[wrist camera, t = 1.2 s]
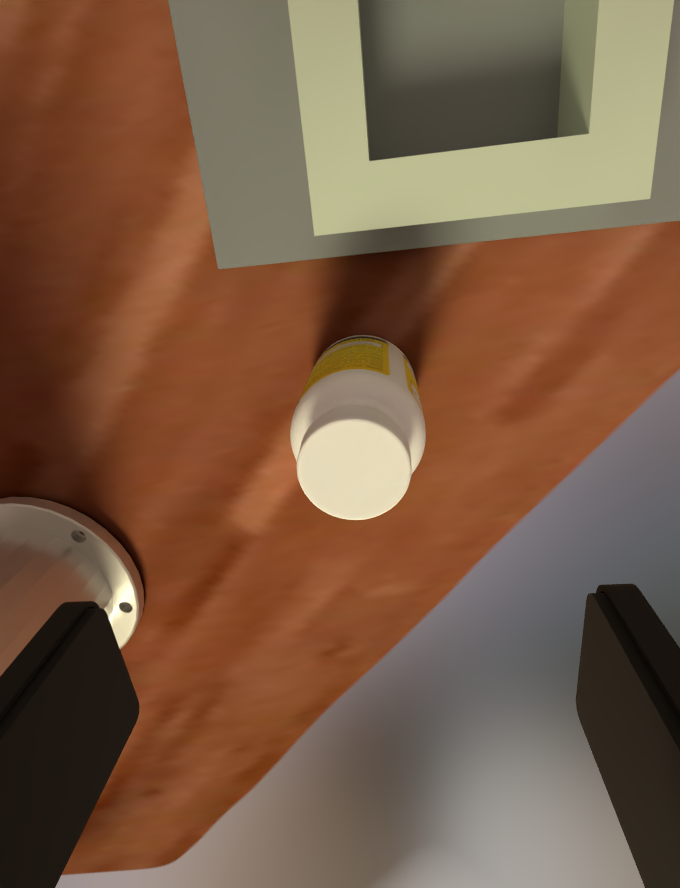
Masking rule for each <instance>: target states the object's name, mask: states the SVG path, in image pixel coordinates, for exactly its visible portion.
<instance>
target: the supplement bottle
mask: <svg viewBox="0 0 680 888" xmlns="http://www.w3.org/2000/svg"><path fill="white" fill-rule="evenodd" d="M290 437H291V446H292V450H293V453H294V456H295V458H296V461H297V475H298V480H299V483H300V485H301V487H302V489H303V491H304V493H305V494H306V496H307V497H308V498H309V500H310V501H311V502H312V503H313V504H314V505H316V506H317V507H318V508H319V509H321V510H322V511H324V512H326V513H328V514H330V515H332V516H335V517H338V518H343V519H348V520H363V519H369V518H373V517H376V516H379V515H381V514H383V513H385V512H386V511H388V510H390V509H391V508H392V507H394V506H395V505H396V504H397V503H398V502H399V501H400V500H401V498H402V497H403V495H404V494H405V492H406V490H407V488H408V486H409V483H410V479H411V474H412V473H413V472H414V470H415V469H416V467H417V465H418V464H419V462H420V460H421V457H422V455H423V452H424V447H425V440H426V430H425V422H424V417H423V413H422V408H421V403H420V398H419V393H418V388H417V383H416V378H415V375H414V372H413V369H412V366H411V364H410V362H409V361H408V359H407V357H406V356H405V355H404V354H403V352H402V351H401V350H400V349H399V348H397V347H396V346H395V345H394V344H392V343H390V342H389V341H387V340H384V339H382V338H379V337H375V336H370V335H356V336H350V337H347V338H344V339H341V340H339V341H337V342H335V343H334V344H332V345H331V346H330V347H328V348H327V349H326V350H325V351H324V352H323V353H322V355H321V356H320V357H319V359H318V360H317V362H316V364H315V365H314V367H313V369H312V371H311V374H310V376H309V378H308V381H307V383H306V385H305V388H304V390H303V393H302V395H301V397H300V400H299V402H298V404H297V407H296V409H295V412H294V415H293V418H292V423H291V432H290Z"/></svg>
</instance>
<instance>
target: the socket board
mask: <svg viewBox="0 0 680 888" xmlns="http://www.w3.org/2000/svg"><path fill="white" fill-rule="evenodd" d="M168 2H169V7H170V13H171V18H172V24H173V29H174V34H175V40H176V45H177V50H178V56H179V61H180V66H181V72H182V77H183V83H184V88H185V93H186V99H187V104H188V109H189V115H190V120H191V126H192V131H193V136H194V142H195V147H196V152H197V158H198V163H199V168H200V174H201V179H202V185H203V190H204V195H205V201H206V206H207V211H208V217H209V222H210V228H211V233H212V238H213V244H214V249H215V254H216V260H217V265H218V269H226V268H235V267H245V266H254V265H264V264H273V263H283V262H292V261H302V260H311V259H321V258H330V257H339V256H349V255H358V254H368V253H377V252H387V251H396V250H406V249H415V248H425V247H434V246H443V245H453V244H462V243H472V242H481V241H491V240H500V239H510V238H519V237H529V236H538V235H547V234H557V233H566V232H576V231H585V230H595V229H604V228H614V227H623V226H633V225H642V224H651V223H661V222H670V221H680V0H168Z"/></svg>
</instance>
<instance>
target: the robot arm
mask: <svg viewBox="0 0 680 888" xmlns="http://www.w3.org/2000/svg"><path fill="white" fill-rule="evenodd" d="M143 607H144V591H143V586H142V582H141V579H140V575H139V572H138V570H137V568H136V566H135V564H134V563H133V561H132V559H131V557H130V556H129V554H128V553H127V552H126V550H125V549H124V548H123V546H122V545H121V544H120V543H119V542H118V541H117V540H116V539H115V538H114V537H113V536H112V535H111V534H110V533H109V532H108V531H107V530H106V529H105V528H103V527H102V526H101V525H99V524H98V523H96V522H95V521H93V520H92V519H91V518H89V517H88V516H86V515H84V514H82V513H80V512H78V511H76V510H74V509H72V508H70V507H67V506H64V505H62V504H59V503H56V502H53V501H50V500H44V499H38V498H33V497H7V498H1V499H0V888H55V887H56V884H57V882H58V880H59V878H60V876H61V874H62V872H63V870H64V868H65V866H66V864H67V862H68V860H69V858H70V856H71V854H72V852H73V850H74V848H75V846H76V844H77V842H78V840H79V838H80V836H81V834H82V832H83V830H84V827H85V825H86V823H87V821H88V819H89V817H90V815H91V813H92V811H93V809H94V807H95V805H96V803H97V801H98V799H99V797H100V795H101V793H102V791H103V789H104V787H105V785H106V783H107V781H108V779H109V777H110V775H111V773H112V770H113V768H114V766H115V764H116V762H117V760H118V758H119V756H120V754H121V752H122V750H123V748H124V746H125V744H126V742H127V740H128V738H129V736H130V734H131V732H132V730H133V728H134V726H135V724H136V721H137V719H138V715H139V701H138V698H137V696H136V693H135V690H134V687H133V684H132V682H131V679H130V676H129V673H128V671H127V668H126V665H125V662H124V659H123V657H122V654H121V651H120V649H121V648H122V647H123V646H124V645H125V644H126V643H127V642H128V640H129V639H130V637H131V636H132V634H133V633H134V631H135V630H136V628H137V626H138V623H139V621H140V619H141V617H142V612H143ZM576 705H577V712H578V716H579V719H580V722H581V724H582V727H583V730H584V732H585V735H586V737H587V740H588V743H589V745H590V748H591V750H592V753H593V755H594V758H595V761H596V763H597V766H598V768H599V771H600V773H601V776H602V778H603V781H604V784H605V786H606V789H607V791H608V794H609V796H610V799H611V802H612V804H613V806H614V809H615V811H616V814H617V817H618V819H619V822H620V825H621V827H622V830H623V832H624V835H625V837H626V840H627V842H628V845H629V848H630V850H631V853H632V855H633V858H634V860H635V863H636V866H637V868H638V871H639V873H640V876H641V878H642V881H643V883H644V886H645V888H680V648H679V647H678V645H677V644H676V642H675V641H674V639H673V638H672V636H671V635H670V634H669V632H668V631H667V629H666V628H665V626H664V625H663V623H662V622H661V621H660V619H659V617H658V616H657V615H656V613H655V612H654V610H653V609H652V607H651V606H650V605H649V603H648V602H647V600H646V599H645V597H644V596H643V595H642V593H641V591H640V590H639V589H638V588H637V586H636V585H633V584H612V585H599V586H598V588H597V591H596V593H591V594H588V596H587V600H586V609H585V619H584V629H583V638H582V647H581V656H580V666H579V676H578V684H577V694H576Z"/></svg>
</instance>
